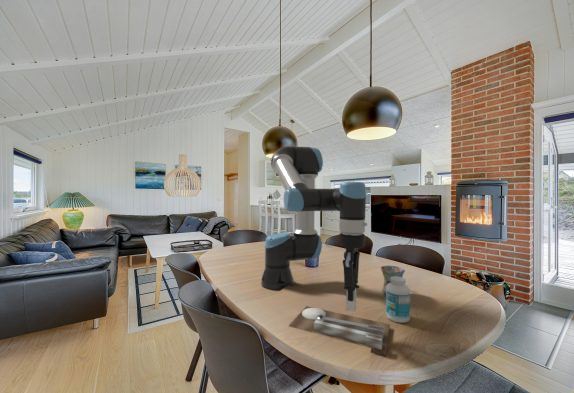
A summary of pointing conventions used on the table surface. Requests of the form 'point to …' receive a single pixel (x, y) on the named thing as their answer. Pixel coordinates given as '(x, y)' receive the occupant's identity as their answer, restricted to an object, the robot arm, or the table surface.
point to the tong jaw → (353, 325)
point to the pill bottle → (398, 300)
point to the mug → (390, 274)
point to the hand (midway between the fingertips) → (351, 309)
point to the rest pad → (312, 313)
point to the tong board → (329, 314)
